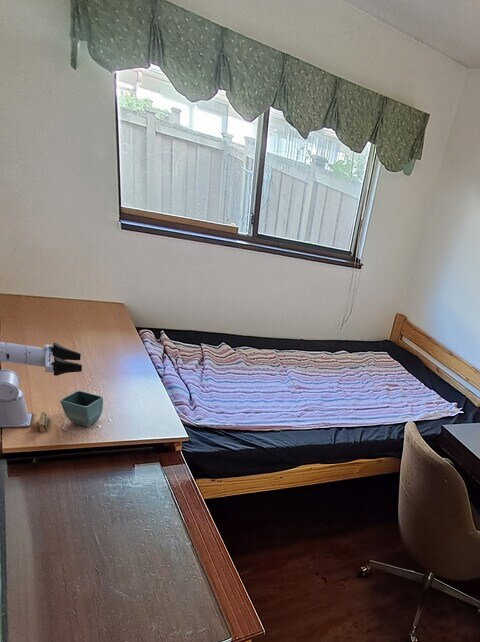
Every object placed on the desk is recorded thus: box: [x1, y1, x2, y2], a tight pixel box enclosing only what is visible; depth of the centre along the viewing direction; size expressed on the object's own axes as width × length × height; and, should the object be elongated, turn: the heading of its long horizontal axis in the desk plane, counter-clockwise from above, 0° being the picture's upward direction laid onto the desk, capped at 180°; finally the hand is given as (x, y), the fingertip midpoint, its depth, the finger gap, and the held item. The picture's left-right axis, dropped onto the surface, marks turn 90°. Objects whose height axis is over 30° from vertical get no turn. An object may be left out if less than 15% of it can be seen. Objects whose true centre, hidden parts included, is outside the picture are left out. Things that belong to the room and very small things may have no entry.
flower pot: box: [59, 390, 104, 428], centre depth 149 cm, size 9×9×9 cm
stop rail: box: [38, 411, 49, 433], centre depth 144 cm, size 2×8×3 cm, turn 27°
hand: (81, 362), depth 143 cm, fingers open, 7 cm apart
